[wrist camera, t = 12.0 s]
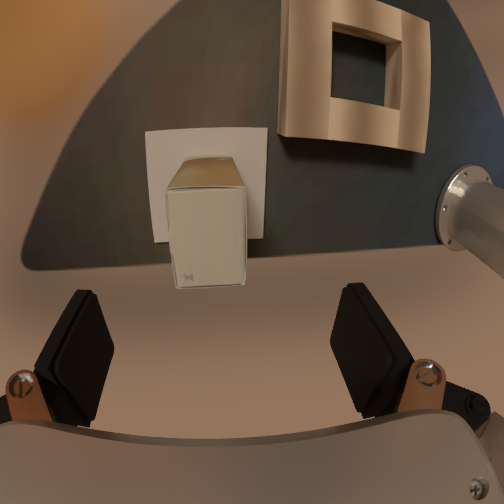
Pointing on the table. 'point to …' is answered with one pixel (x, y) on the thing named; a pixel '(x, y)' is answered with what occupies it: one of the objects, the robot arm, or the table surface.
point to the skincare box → (207, 223)
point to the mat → (207, 144)
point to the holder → (319, 74)
